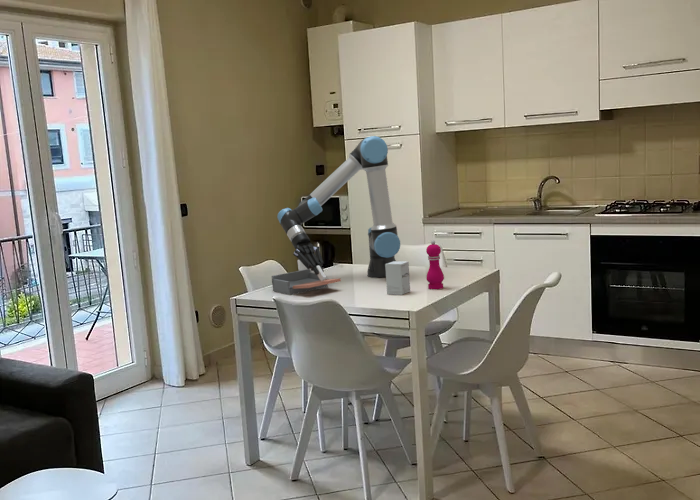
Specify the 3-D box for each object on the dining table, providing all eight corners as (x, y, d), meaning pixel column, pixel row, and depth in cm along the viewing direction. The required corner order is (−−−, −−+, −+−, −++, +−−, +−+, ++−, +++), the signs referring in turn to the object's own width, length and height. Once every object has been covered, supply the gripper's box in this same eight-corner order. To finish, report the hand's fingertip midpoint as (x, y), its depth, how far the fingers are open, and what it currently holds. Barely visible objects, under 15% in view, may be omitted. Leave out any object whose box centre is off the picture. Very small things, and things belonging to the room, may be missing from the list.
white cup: (313, 281, 329) (311, 260, 328) (297, 282, 331) (295, 261, 329) (317, 278, 337) (315, 257, 335) (301, 279, 338) (299, 258, 337)
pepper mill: (446, 286, 293) (443, 238, 290) (442, 289, 286) (439, 241, 284) (429, 286, 295) (426, 239, 293) (425, 290, 289) (422, 241, 286)
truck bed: (271, 291, 311) (270, 276, 310) (310, 283, 324) (309, 268, 323) (290, 295, 299) (288, 279, 298) (329, 286, 312) (328, 271, 311)
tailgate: (292, 285, 301) (307, 285, 291) (324, 279, 311) (340, 278, 301) (293, 290, 301) (308, 289, 291) (325, 283, 311) (341, 282, 301)
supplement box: (402, 295, 282) (400, 264, 280) (386, 294, 286) (384, 263, 284) (411, 291, 288) (409, 261, 287) (395, 290, 292) (393, 260, 290)
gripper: (308, 241, 313) (333, 282, 302) (283, 245, 305) (307, 287, 294) (314, 230, 308) (339, 271, 297) (288, 234, 301) (313, 276, 289)
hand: (323, 279), depth 296 cm, fingers closed
